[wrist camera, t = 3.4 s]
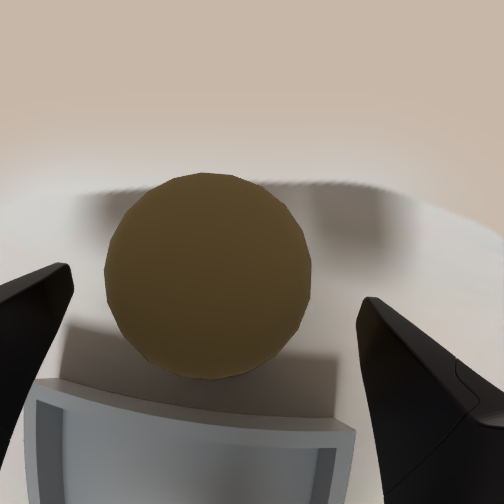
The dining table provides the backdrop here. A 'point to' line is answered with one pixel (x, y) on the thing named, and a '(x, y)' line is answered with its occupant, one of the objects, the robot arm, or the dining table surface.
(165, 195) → the cork
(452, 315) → the dining table surface
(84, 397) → the tray
